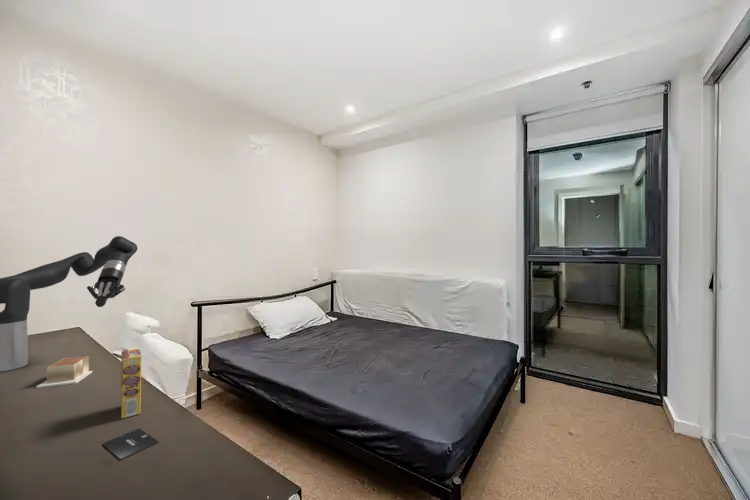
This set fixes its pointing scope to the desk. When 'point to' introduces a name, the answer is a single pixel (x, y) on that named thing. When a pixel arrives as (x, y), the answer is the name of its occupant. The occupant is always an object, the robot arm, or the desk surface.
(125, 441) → the solid state drive
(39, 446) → the desk surface
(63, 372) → the maple block
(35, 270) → the robot arm
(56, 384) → the mat
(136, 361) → the candy box
